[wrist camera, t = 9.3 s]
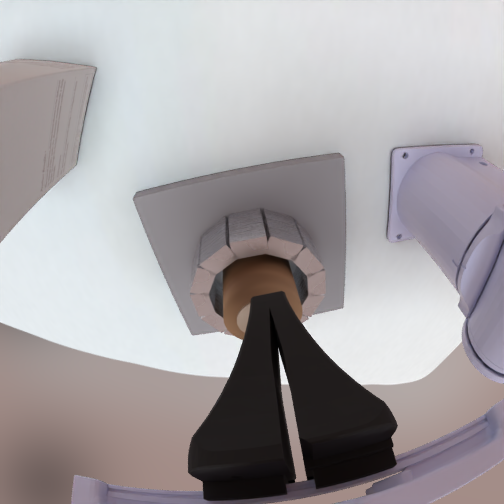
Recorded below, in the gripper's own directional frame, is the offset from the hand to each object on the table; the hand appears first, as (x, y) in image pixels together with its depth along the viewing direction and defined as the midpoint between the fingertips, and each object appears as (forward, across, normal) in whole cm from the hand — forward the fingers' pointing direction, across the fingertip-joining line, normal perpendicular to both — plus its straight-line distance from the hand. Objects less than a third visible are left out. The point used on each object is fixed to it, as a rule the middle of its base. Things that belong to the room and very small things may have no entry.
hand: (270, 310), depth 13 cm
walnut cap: (+9, +1, +4) cm, 10 cm away
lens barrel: (+10, +1, +4) cm, 11 cm away
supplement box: (+10, +12, -11) cm, 19 cm away
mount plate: (+10, +1, +4) cm, 11 cm away
